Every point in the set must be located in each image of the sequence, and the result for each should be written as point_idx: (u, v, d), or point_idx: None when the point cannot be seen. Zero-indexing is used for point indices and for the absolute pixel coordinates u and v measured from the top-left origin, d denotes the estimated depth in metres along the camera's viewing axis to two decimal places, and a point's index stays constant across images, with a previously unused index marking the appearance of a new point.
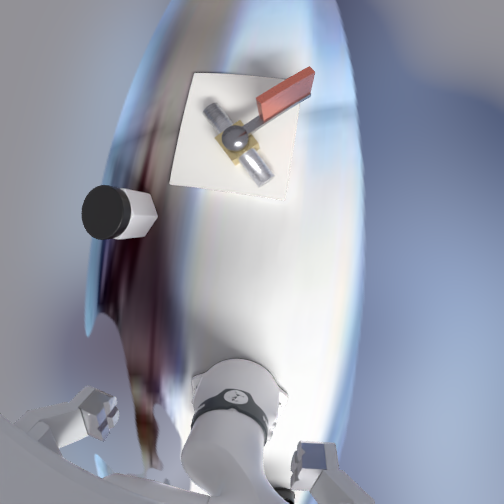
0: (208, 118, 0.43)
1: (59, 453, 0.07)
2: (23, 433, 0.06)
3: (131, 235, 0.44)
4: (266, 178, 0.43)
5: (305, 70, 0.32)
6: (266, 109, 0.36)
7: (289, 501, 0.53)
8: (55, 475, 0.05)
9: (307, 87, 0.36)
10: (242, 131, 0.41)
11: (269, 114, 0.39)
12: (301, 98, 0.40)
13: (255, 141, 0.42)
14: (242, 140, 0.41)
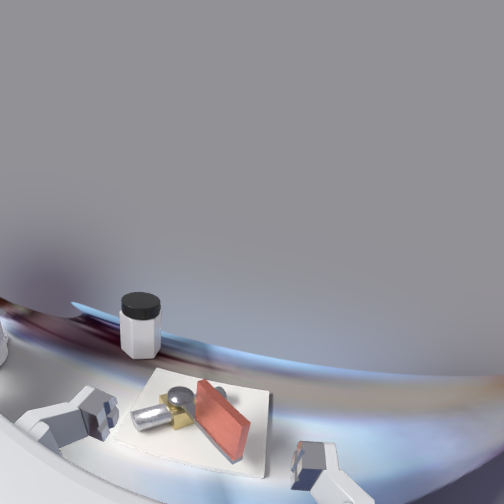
0: None
1: (59, 453, 0.07)
2: (23, 433, 0.06)
3: (121, 327, 0.53)
4: (134, 415, 0.34)
5: (243, 418, 0.28)
6: (198, 400, 0.33)
7: None
8: (55, 475, 0.05)
9: (232, 442, 0.28)
10: (186, 400, 0.37)
11: (199, 415, 0.33)
12: (225, 451, 0.29)
13: (176, 414, 0.36)
14: (176, 399, 0.37)
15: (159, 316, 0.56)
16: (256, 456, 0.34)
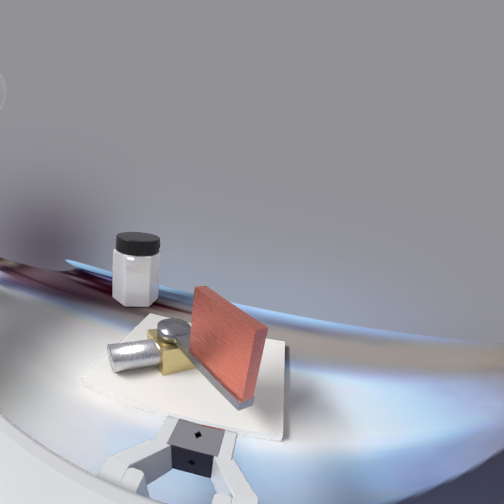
0: None
1: (148, 495, 0.07)
2: (23, 433, 0.06)
3: (113, 269, 0.47)
4: (111, 347, 0.27)
5: (257, 323, 0.21)
6: (195, 317, 0.27)
7: None
8: (55, 475, 0.05)
9: (240, 368, 0.21)
10: (180, 331, 0.31)
11: (195, 343, 0.27)
12: (228, 390, 0.23)
13: (165, 349, 0.29)
14: (167, 329, 0.31)
15: (158, 256, 0.50)
16: (271, 411, 0.27)
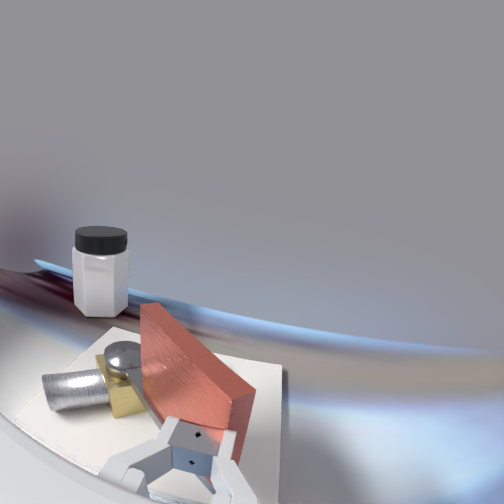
0: None
1: (148, 495, 0.07)
2: (23, 433, 0.06)
3: (73, 271, 0.37)
4: (44, 380, 0.17)
5: (236, 379, 0.11)
6: (144, 350, 0.16)
7: None
8: (55, 475, 0.05)
9: None
10: (133, 362, 0.20)
11: (149, 387, 0.16)
12: None
13: (113, 386, 0.19)
14: (116, 359, 0.20)
15: (124, 255, 0.39)
16: (261, 475, 0.16)
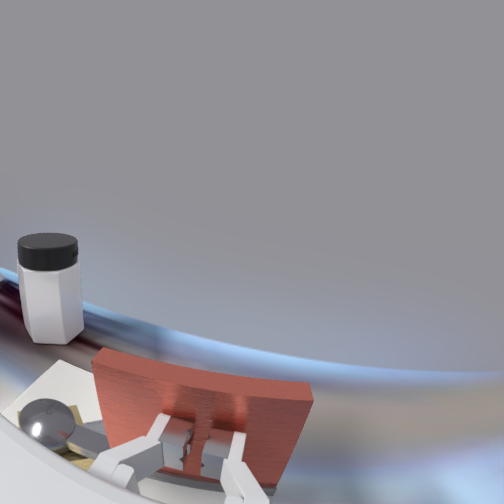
0: None
1: (139, 492, 0.07)
2: (23, 433, 0.06)
3: (19, 288, 0.26)
4: None
5: (288, 385, 0.11)
6: (113, 413, 0.10)
7: None
8: (55, 475, 0.05)
9: (270, 457, 0.11)
10: (64, 426, 0.12)
11: None
12: None
13: None
14: (45, 434, 0.10)
15: (74, 270, 0.29)
16: None
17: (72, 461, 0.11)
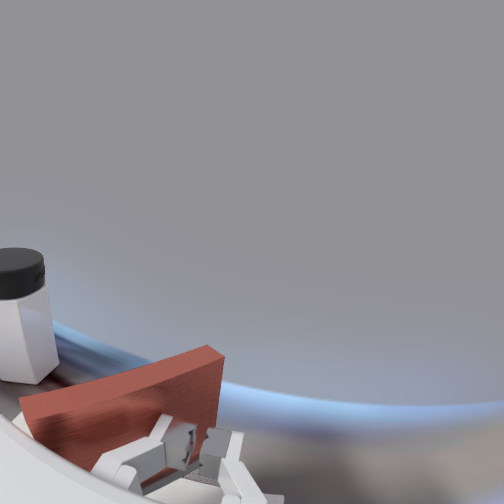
0: None
1: (141, 493, 0.07)
2: (23, 433, 0.06)
3: None
4: None
5: (195, 353, 0.12)
6: None
7: None
8: (55, 475, 0.05)
9: (203, 423, 0.12)
10: None
11: None
12: (189, 462, 0.12)
13: None
14: None
15: (39, 296, 0.21)
16: None
17: None
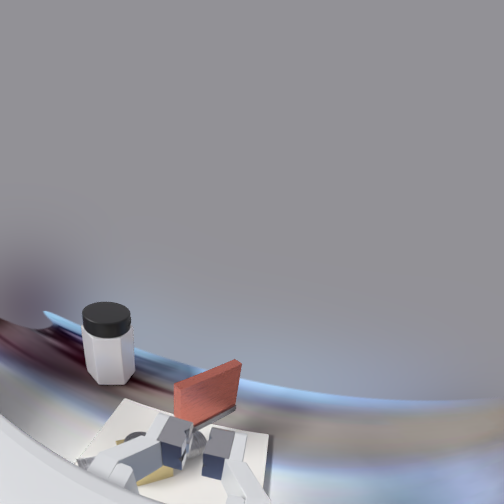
0: None
1: (137, 491, 0.07)
2: (23, 433, 0.06)
3: (84, 345, 0.39)
4: (80, 465, 0.19)
5: (230, 362, 0.33)
6: (185, 406, 0.27)
7: None
8: (55, 475, 0.05)
9: (232, 390, 0.33)
10: None
11: None
12: (225, 410, 0.33)
13: None
14: None
15: (129, 333, 0.42)
16: None
17: None
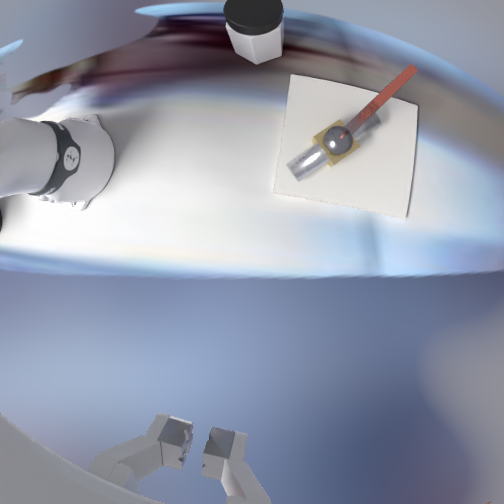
0: None
1: (137, 491, 0.07)
2: (23, 433, 0.06)
3: (232, 39, 0.35)
4: (294, 172, 0.39)
5: (409, 68, 0.27)
6: None
7: None
8: (55, 475, 0.05)
9: None
10: (345, 132, 0.36)
11: None
12: (393, 93, 0.34)
13: (335, 161, 0.38)
14: (348, 142, 0.36)
15: None
16: (402, 196, 0.41)
17: (351, 152, 0.38)
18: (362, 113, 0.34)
